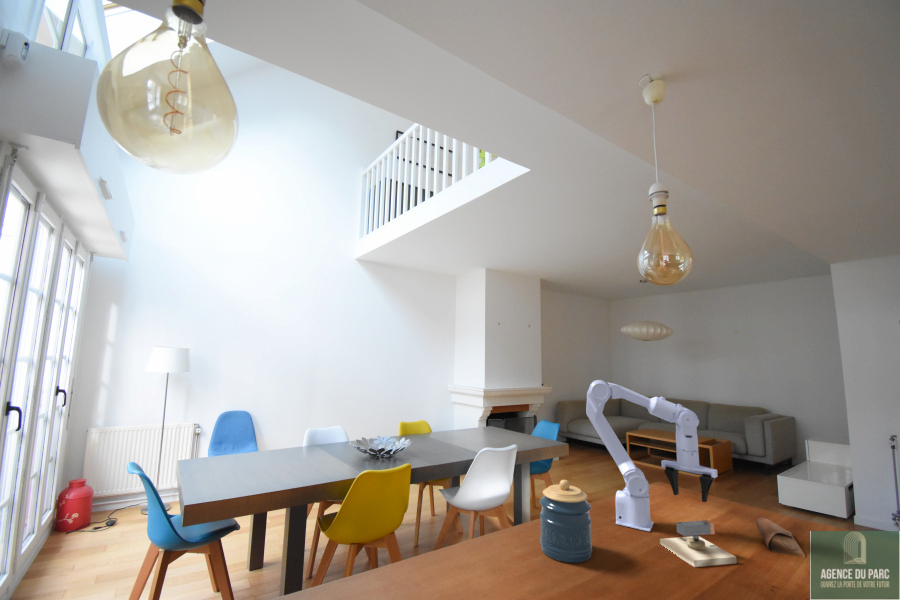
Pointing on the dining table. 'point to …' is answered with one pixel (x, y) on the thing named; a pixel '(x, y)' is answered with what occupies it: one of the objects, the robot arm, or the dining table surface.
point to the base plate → (698, 551)
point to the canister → (565, 523)
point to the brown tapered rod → (778, 538)
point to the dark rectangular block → (695, 528)
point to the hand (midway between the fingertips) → (690, 497)
